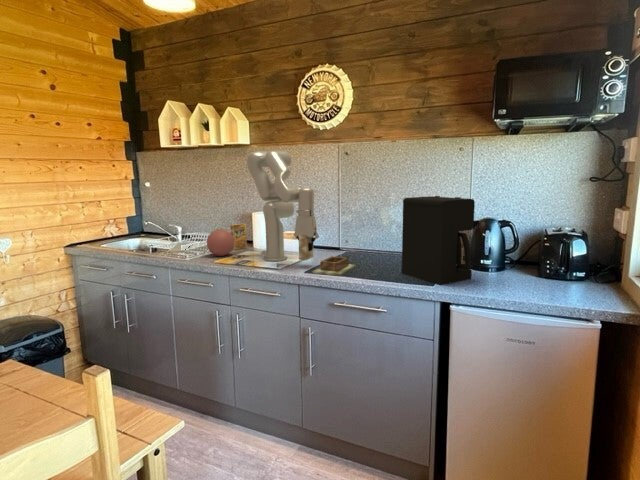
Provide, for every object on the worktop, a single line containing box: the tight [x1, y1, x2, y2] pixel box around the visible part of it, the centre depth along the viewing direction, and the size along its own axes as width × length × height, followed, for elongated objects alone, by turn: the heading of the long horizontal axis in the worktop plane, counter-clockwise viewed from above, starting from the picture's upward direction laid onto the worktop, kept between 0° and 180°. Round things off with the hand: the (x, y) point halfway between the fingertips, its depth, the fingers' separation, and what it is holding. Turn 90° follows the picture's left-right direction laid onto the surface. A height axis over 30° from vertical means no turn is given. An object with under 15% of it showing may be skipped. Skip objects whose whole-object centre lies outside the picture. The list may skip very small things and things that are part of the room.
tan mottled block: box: [298, 235, 315, 261], centre depth 205 cm, size 4×8×12 cm, turn 154°
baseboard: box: [165, 240, 195, 254], centre depth 263 cm, size 31×3×12 cm
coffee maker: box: [401, 195, 476, 286], centre depth 181 cm, size 28×20×35 cm
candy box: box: [230, 223, 248, 251], centre depth 257 cm, size 9×4×15 cm, turn 126°
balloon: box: [206, 228, 235, 257], centre depth 238 cm, size 15×20×15 cm
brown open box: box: [312, 255, 357, 277], centre depth 199 cm, size 14×20×5 cm
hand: (306, 249), depth 205 cm, fingers closed on tan mottled block, 4 cm apart
